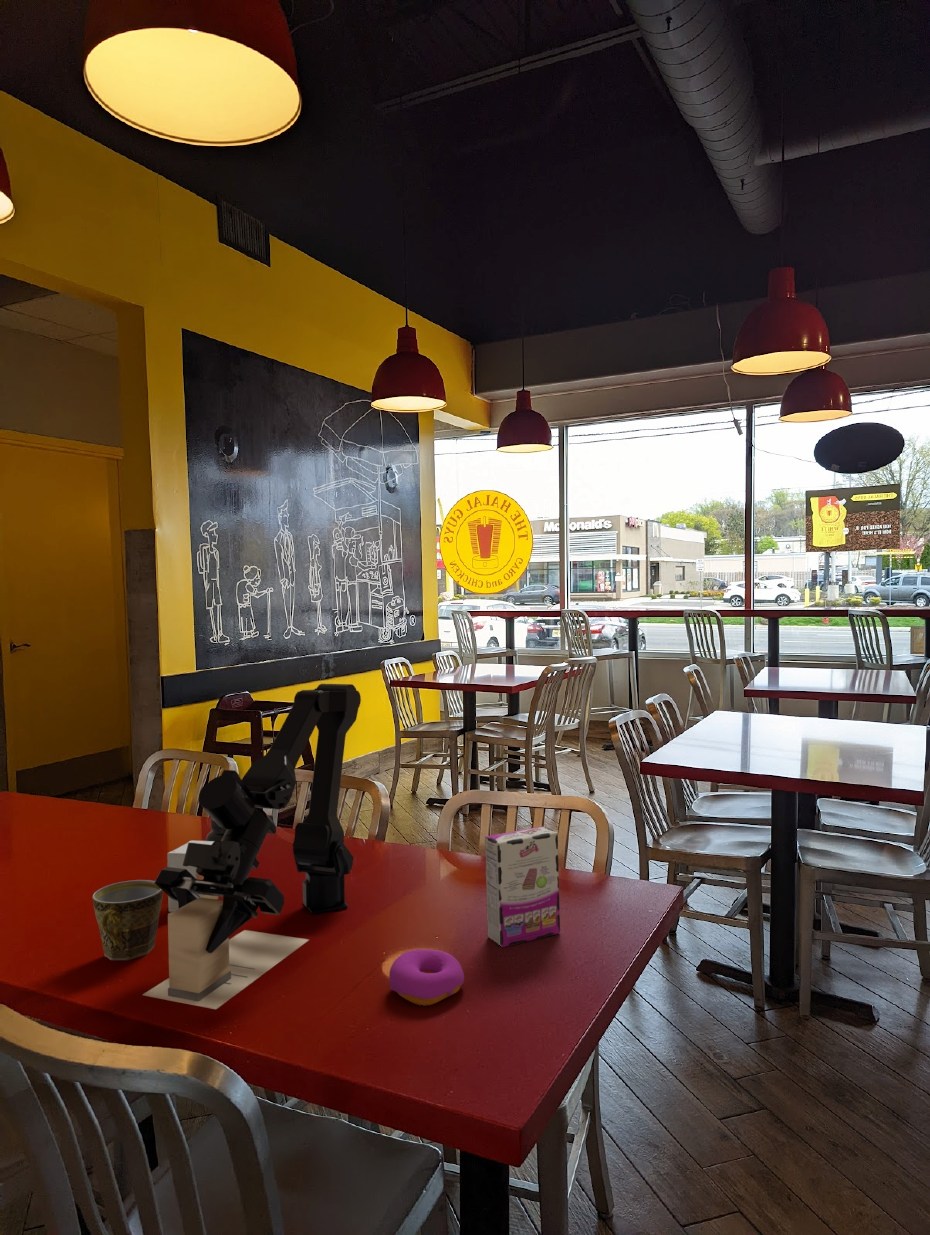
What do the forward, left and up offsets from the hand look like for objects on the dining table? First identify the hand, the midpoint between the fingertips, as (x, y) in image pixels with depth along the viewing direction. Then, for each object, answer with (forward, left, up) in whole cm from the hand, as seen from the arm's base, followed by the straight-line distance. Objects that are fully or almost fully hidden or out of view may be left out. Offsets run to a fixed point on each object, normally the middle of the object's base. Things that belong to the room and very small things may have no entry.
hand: (192, 949), depth 110 cm
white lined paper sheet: (-6, -6, -7) cm, 11 cm away
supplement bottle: (-11, -48, -7) cm, 50 cm away
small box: (-4, -36, -7) cm, 37 cm away
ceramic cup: (+8, -17, -7) cm, 20 cm away
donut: (-29, +12, -7) cm, 32 cm away
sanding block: (-1, -1, -6) cm, 6 cm away
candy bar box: (-50, +2, -7) cm, 50 cm away
